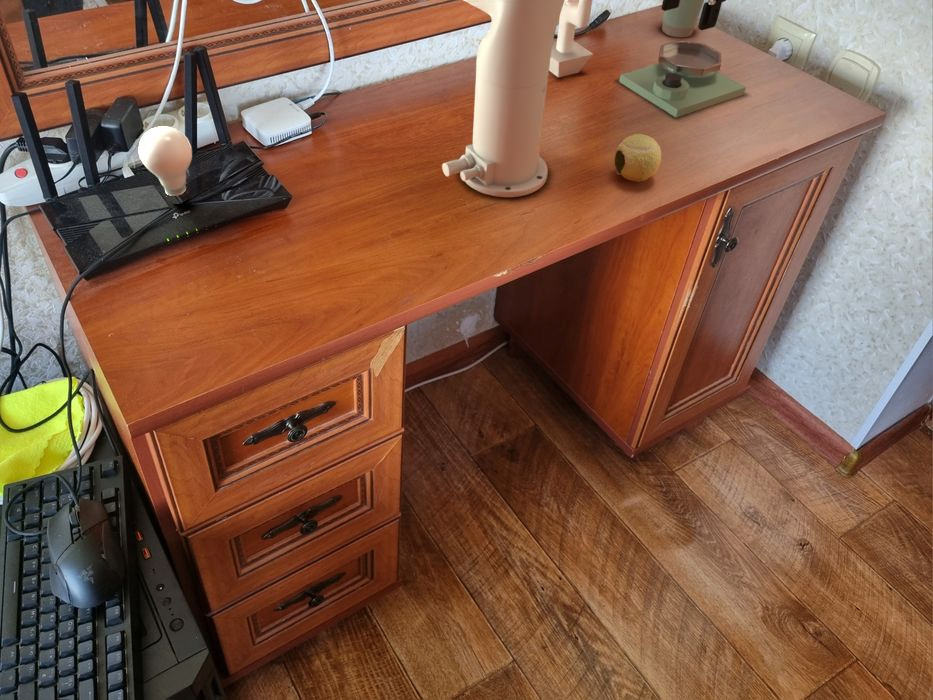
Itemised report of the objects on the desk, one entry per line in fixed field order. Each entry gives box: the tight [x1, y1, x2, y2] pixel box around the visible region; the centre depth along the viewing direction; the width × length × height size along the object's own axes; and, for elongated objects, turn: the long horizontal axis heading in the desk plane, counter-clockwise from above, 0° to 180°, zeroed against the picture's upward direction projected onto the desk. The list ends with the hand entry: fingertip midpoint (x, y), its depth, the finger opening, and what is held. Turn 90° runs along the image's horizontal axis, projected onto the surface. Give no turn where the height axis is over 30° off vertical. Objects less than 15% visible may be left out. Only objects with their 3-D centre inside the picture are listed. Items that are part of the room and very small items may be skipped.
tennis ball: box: [613, 133, 662, 183], centre depth 112 cm, size 6×7×7 cm
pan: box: [658, 39, 722, 78], centre depth 134 cm, size 10×10×2 cm
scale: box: [618, 62, 747, 118], centre depth 134 cm, size 16×14×3 cm
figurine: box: [549, 0, 594, 78], centre depth 132 cm, size 7×9×15 cm
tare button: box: [664, 73, 681, 88], centre depth 129 cm, size 3×3×2 cm
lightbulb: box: [138, 125, 193, 196], centre depth 102 cm, size 6×6×11 cm
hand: (687, 17), depth 122 cm, fingers open, 7 cm apart
